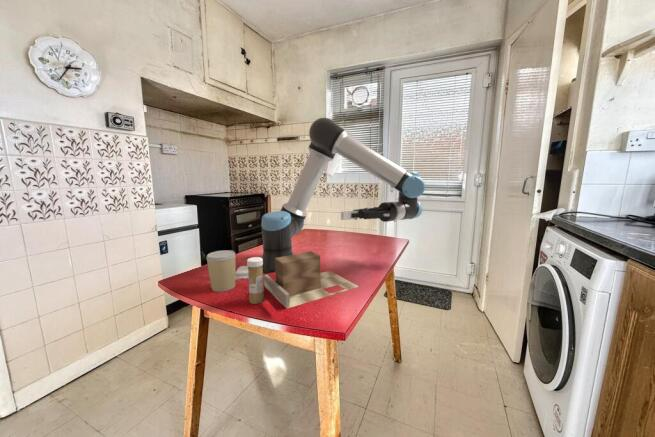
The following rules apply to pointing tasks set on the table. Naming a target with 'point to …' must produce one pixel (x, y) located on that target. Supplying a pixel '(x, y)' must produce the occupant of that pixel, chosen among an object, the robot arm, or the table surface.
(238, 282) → the table surface
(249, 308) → the table surface
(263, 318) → the table surface
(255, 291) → the sprinkles bottle
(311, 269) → the block
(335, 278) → the board
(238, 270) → the soap
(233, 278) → the coffee cup
